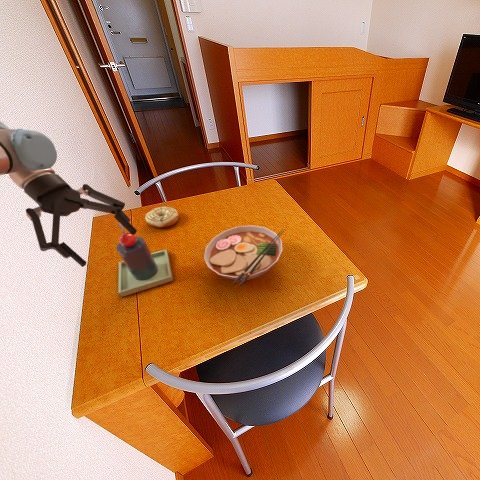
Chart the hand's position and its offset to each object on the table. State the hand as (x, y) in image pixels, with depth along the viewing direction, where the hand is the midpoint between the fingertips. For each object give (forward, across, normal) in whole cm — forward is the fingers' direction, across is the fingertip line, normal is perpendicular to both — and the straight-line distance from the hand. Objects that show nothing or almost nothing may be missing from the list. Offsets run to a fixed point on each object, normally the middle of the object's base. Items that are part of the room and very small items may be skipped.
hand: (111, 247), depth 71 cm
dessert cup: (+10, -4, -9) cm, 14 cm away
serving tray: (+10, -4, -9) cm, 14 cm away
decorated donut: (-1, -25, -21) cm, 33 cm away
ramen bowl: (+28, -20, +8) cm, 35 cm away
